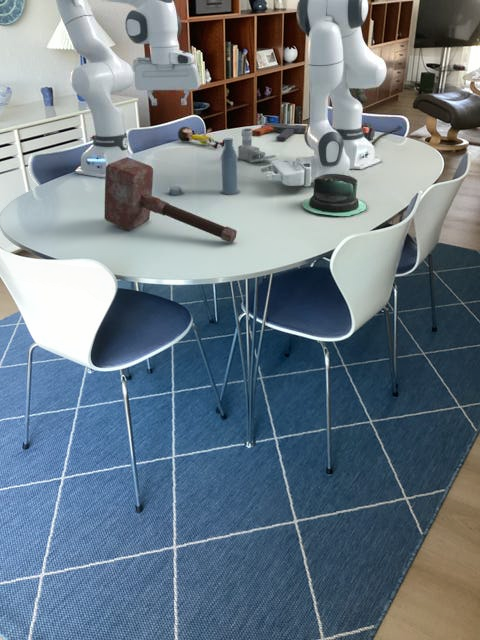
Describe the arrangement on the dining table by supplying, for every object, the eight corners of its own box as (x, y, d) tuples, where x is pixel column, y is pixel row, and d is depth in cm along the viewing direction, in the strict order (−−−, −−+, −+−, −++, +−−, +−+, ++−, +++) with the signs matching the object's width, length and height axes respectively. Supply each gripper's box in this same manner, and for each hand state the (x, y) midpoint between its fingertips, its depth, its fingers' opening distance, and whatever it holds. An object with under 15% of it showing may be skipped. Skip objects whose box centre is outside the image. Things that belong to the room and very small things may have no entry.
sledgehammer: (247, 201, 148) (125, 155, 160) (230, 213, 141) (104, 163, 152) (236, 257, 158) (122, 210, 170) (220, 270, 151) (102, 220, 162)
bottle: (226, 195, 187) (224, 141, 178) (219, 191, 191) (217, 138, 182) (240, 193, 189) (239, 139, 180) (233, 189, 193) (232, 136, 184)
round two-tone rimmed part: (371, 195, 181) (367, 217, 164) (320, 217, 189) (311, 241, 173) (352, 153, 175) (346, 172, 159) (300, 178, 184) (289, 199, 168)
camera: (247, 126, 226) (276, 132, 217) (247, 155, 232) (275, 162, 223) (233, 130, 220) (262, 135, 212) (233, 160, 226) (261, 166, 218)
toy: (345, 120, 249) (377, 123, 242) (343, 139, 253) (375, 143, 246) (337, 123, 243) (369, 127, 236) (336, 143, 247) (367, 147, 240)
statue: (367, 132, 266) (374, 63, 251) (349, 133, 264) (355, 64, 249) (357, 127, 275) (362, 61, 260) (339, 129, 273) (344, 62, 258)
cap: (183, 193, 190) (183, 187, 189) (174, 196, 188) (174, 190, 187) (176, 190, 193) (176, 185, 192) (167, 193, 190) (166, 188, 190)
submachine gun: (243, 132, 260) (267, 122, 278) (243, 138, 261) (267, 127, 280) (305, 138, 246) (326, 127, 265) (305, 144, 248) (326, 133, 266)
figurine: (211, 139, 238) (170, 125, 250) (210, 157, 242) (170, 142, 255) (230, 134, 247) (190, 120, 259) (229, 150, 251) (189, 136, 263)
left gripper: (129, 58, 167) (134, 107, 174) (196, 57, 165) (199, 106, 172) (134, 56, 172) (139, 103, 179) (199, 55, 171) (202, 103, 178)
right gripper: (294, 153, 199) (257, 156, 197) (312, 168, 182) (271, 172, 180) (294, 171, 202) (257, 174, 200) (311, 187, 185) (271, 191, 183)
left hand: (169, 105), depth 176 cm, fingers open, 8 cm apart
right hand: (264, 173), depth 190 cm, fingers open, 8 cm apart
